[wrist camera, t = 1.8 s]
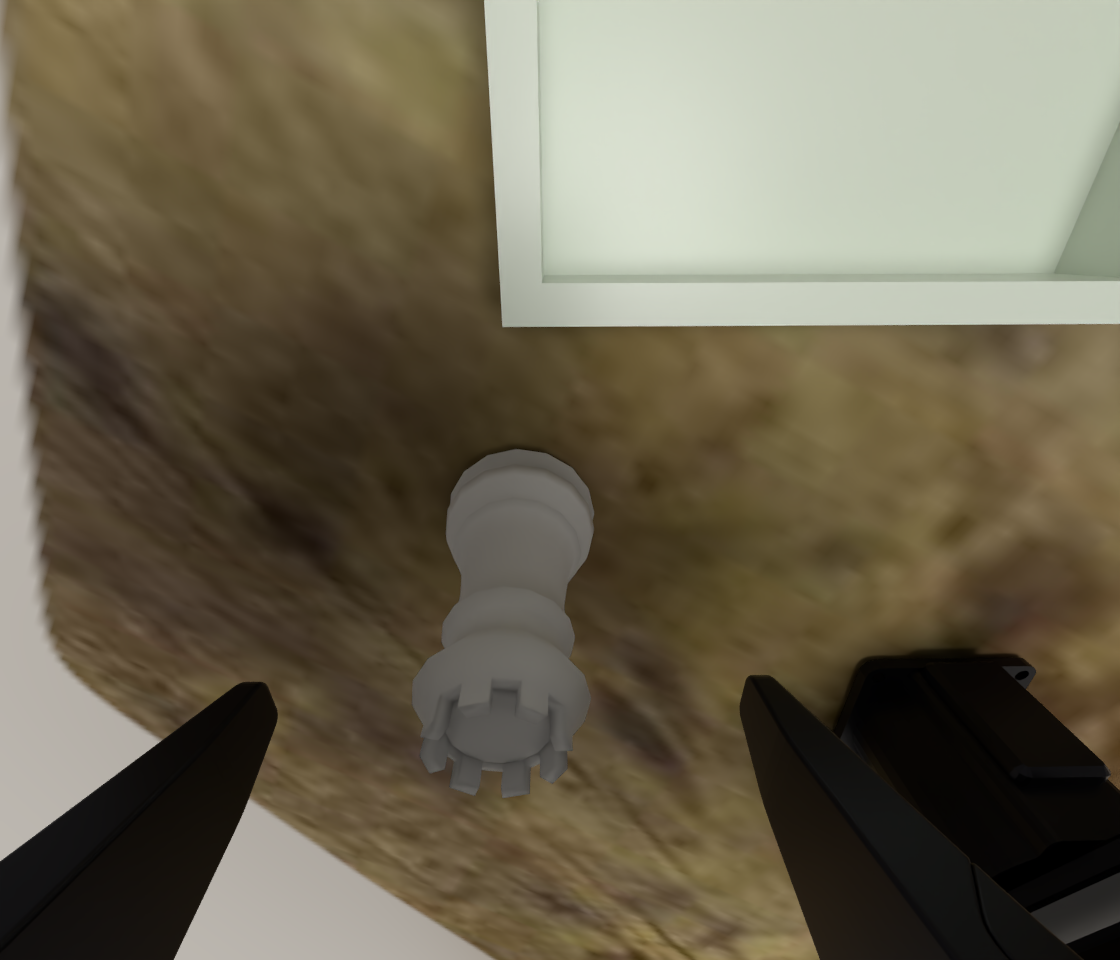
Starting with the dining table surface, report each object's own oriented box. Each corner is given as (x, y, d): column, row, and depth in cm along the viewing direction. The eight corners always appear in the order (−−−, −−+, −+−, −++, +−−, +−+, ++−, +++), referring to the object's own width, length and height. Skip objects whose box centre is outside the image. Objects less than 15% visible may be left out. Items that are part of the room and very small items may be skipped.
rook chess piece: (528, 586, 16) (510, 854, 9) (422, 511, 15) (304, 759, 8) (622, 504, 15) (687, 746, 8) (515, 412, 13) (474, 606, 6)
